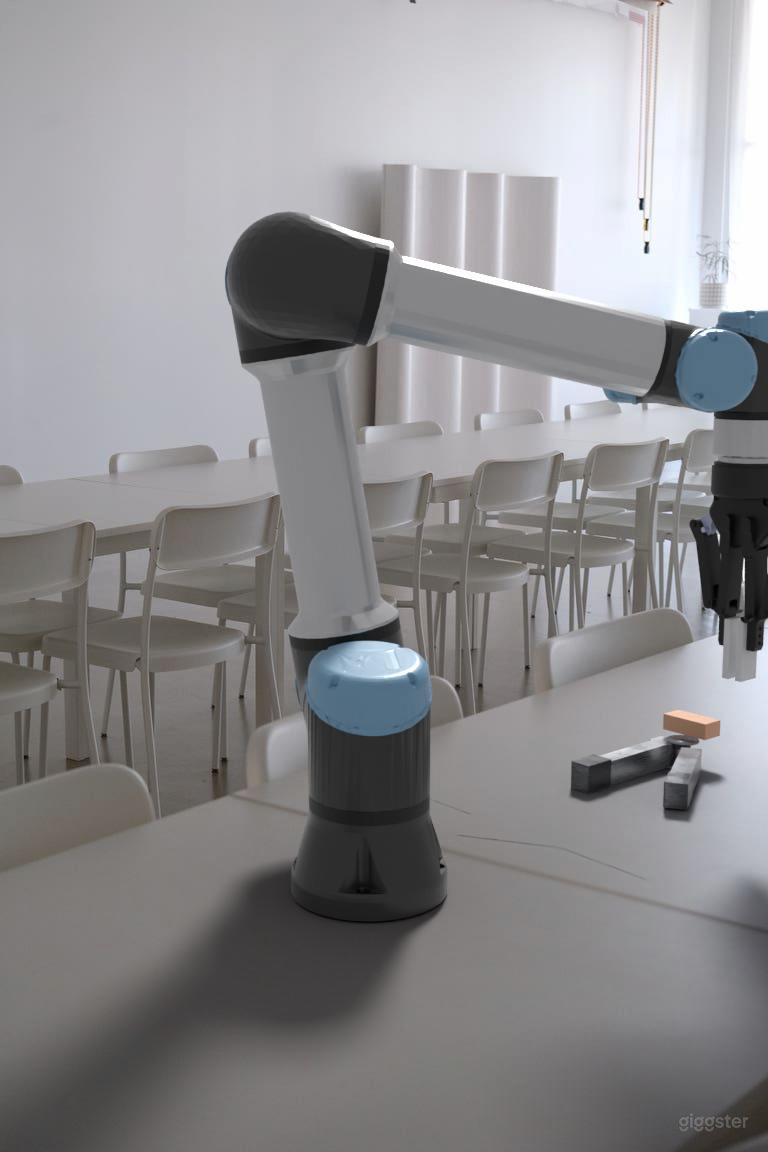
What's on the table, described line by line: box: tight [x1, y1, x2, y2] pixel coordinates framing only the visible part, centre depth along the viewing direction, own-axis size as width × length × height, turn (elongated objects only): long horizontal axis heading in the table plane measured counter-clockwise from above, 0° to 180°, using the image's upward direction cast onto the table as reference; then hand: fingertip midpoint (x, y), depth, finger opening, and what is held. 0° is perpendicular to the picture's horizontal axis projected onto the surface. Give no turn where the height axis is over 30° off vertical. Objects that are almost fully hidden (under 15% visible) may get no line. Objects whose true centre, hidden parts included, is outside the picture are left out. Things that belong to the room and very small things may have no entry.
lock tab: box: [662, 709, 721, 741], centre depth 173 cm, size 3×6×2 cm, turn 41°
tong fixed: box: [570, 735, 692, 794], centre depth 168 cm, size 18×5×3 cm, turn 131°
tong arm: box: [662, 734, 703, 811], centre depth 165 cm, size 18×5×3 cm, turn 161°
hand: (738, 677), depth 149 cm, fingers closed
